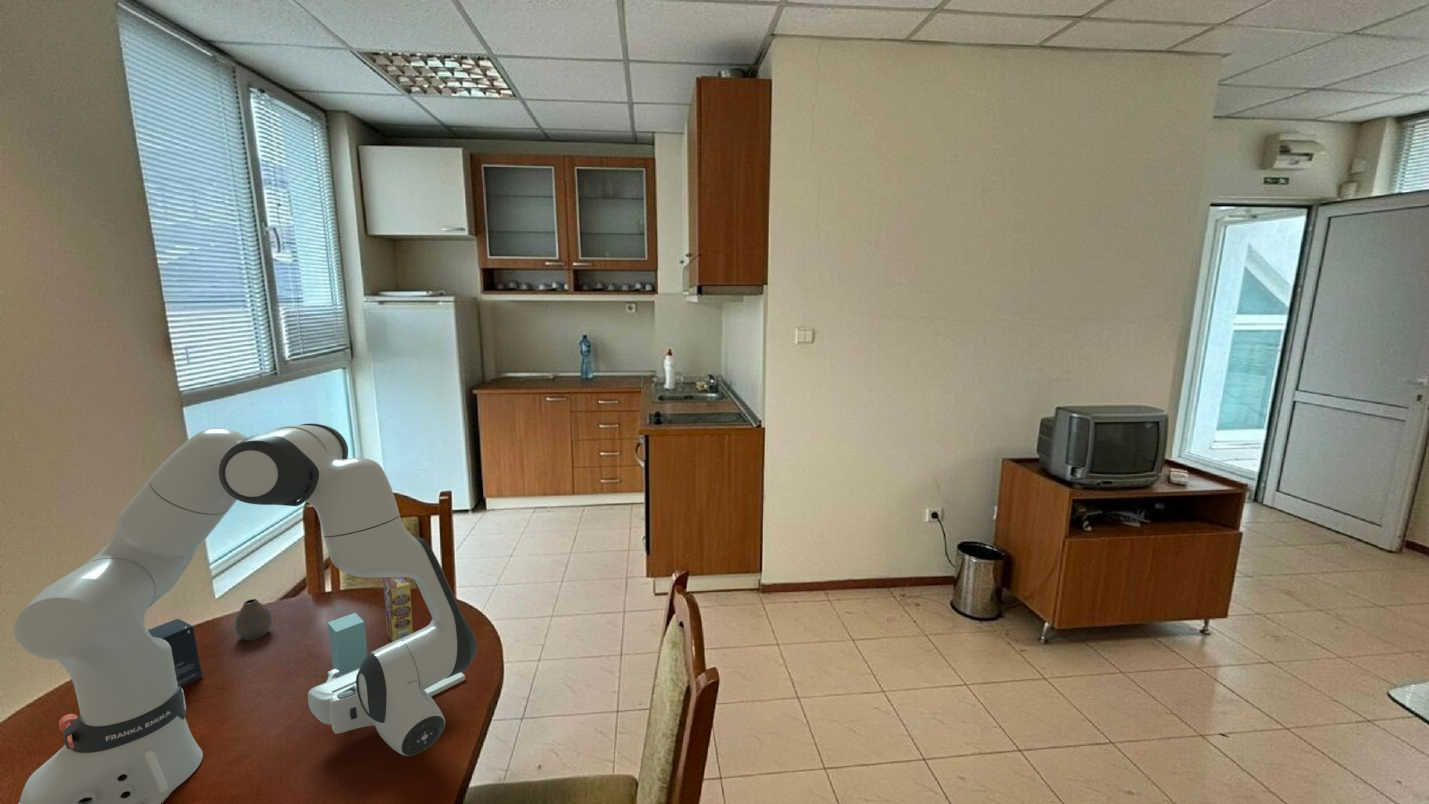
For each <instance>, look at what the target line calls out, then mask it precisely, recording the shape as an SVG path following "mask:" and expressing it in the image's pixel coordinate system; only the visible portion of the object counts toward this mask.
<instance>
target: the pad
mask: <svg viewBox="0 0 1429 804" xmlns="http://www.w3.org/2000/svg"><path fill="white" fill-rule="evenodd" d="M465 680H466V677H465V674H464V673H463V672H460V673H458V674H456V675H453V676H451V677H449V678H445V679H443V680H441V681H439V682H438V683H436V684H434V685H432V686H430V687H428V688H427V689H425V691H426V692H427V693H428V694H429V695H430V696H431V697H434V696H436V695H437V694H440V693H441V692H443V691H446V690H448V689H449V688H451V687H454V686H455V685H457V684H460V683H461V682H463V681H465Z"/></svg>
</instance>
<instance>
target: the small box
mask: <svg viewBox="0 0 1429 804" xmlns="http://www.w3.org/2000/svg"><path fill="white" fill-rule="evenodd" d="M194 627H195V626H194V625H193V624H191V623H188V622H187V621H185V620H183V619H181V618H175V619H173V620H170V621H167V622H164V623H162V624H159V625H158V626H155V627H151V628H149V629H147V630H148V631H149V633H150V634H151V636H152V637H157V638H161V639H164V640H165V641H167V642H168V643H169V644H170V646H171V649H172V655H173V661H174V667H175V673H176V679H177V682H179V683H180V685H181V688H182V687H185V686H186V685H188V684H190V683H193V682H195V681H197V680H199V679H202V678H203V676H204V674H203V672H202V671H203V670H202V667H201V662H200V657H199V651H198V646H197V645H198V644H197V640H196V636H195V630H194V629H195V628H194Z"/></svg>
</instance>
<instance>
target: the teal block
mask: <svg viewBox="0 0 1429 804" xmlns="http://www.w3.org/2000/svg"><path fill="white" fill-rule="evenodd" d="M327 628H328V635H329V636H328V637H329V644H330V654H331V662H332V670H333V669H336V668H337V670H338V671H339V676H342V675H344V674H347V673H349V672H352V671H354V670H356V669H359V668H360V667H361V664H362V662H363V661H364V659H365V658H366V656H367V655H368V654H369V653H368V645H367V636H366V627H365V621H364V620H363V618H361V617H360V616H359V615H358V614H357V613H356V612H353V613H351V614H348V615H345V616H342V617H340V618H337V619H334V620H331V621H328V622H327Z"/></svg>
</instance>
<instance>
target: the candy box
mask: <svg viewBox="0 0 1429 804" xmlns="http://www.w3.org/2000/svg"><path fill="white" fill-rule="evenodd" d="M382 580H383V581H382V582H383V593H384V594H383V595H384V607H385V608H384V610H385V622H386V634H387V636H388V639H389V640H390V641H389V642H390V643H391V642H394V641H396V640H399V639H401V638H403V637H406V636H408V635H410V634H412V633H414V629H413V613H412V596H411V584H410V582H409V580H408V578H407V577H383V578H382Z"/></svg>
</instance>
